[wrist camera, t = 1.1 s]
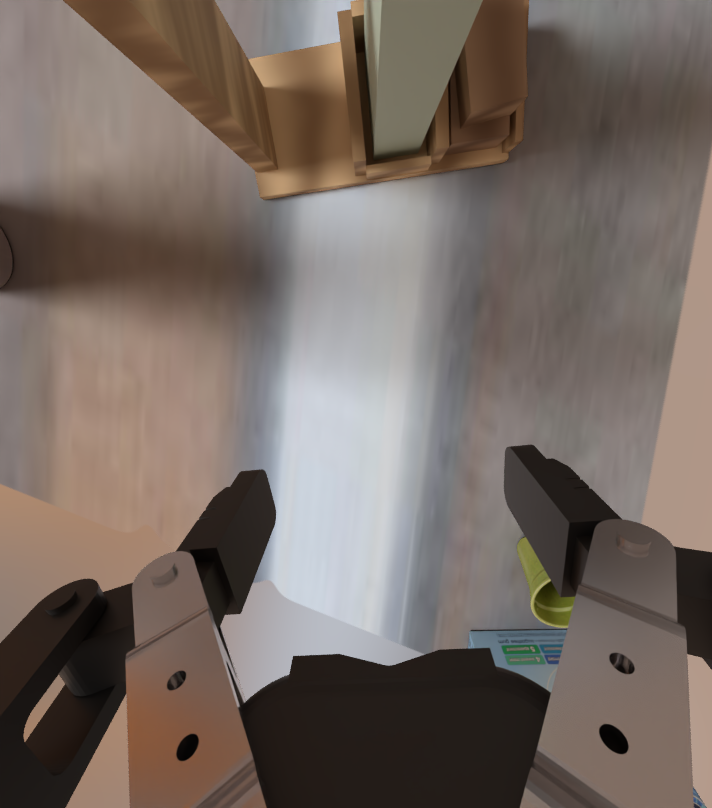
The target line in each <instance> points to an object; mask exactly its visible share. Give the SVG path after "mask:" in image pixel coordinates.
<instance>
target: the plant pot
mask: <svg viewBox="0 0 712 808" xmlns="http://www.w3.org/2000/svg"><path fill="white" fill-rule="evenodd" d="M517 552H518V555H519V558H520V561H521V564H522V567H523V570H524V573H525V576H526V579H527V582H528V585H529V588H530V596H531V602H530V603H531V609H532V612H533V614H534V615H535V616H536V617H537V619H539V620H540V621H541V622H543V623H545V624H547V625H550V626H554V627H560V628H561V627H562V628H568V624H569V620H570V616H571V612H572V608H573V604H574V600H575V597H560V595H559V594H558V592H557V590H556V589H555V587H554V585H553V583H552V582H551V580H550V578H549V576H548V575H547V573H546V571H545V570H544V568H543V566H542V564H541V563H540V561H539V559H538V557H537V556H536V554H535V552H534V550H533V549H532V547H531V545H530V544H529V542H528V540H527V538H526V537H524V538H522V539H520V541H519V543H518V545H517Z"/></svg>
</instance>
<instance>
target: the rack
mask: <svg viewBox="0 0 712 808" xmlns="http://www.w3.org/2000/svg"><path fill="white" fill-rule="evenodd" d="M63 1H64V2H65V3H67V4H68V5H69V6H70V7H71V8H72V9H73V10H74V11H76V12H77V13H78V14H79V15H80V16H81V17H82V18H84V19H85V20H86V21H87V22H88V23H89V24H90V25H91V26H93V27H94V28H95V29H96V30H97V31H98V32H99V33H100V34H102V35H103V36H104V37H105V38H106V39H107V40H108V41H109V42H111V43H112V44H113V45H114V46H115V47H116V48H117V49H119V50H120V51H121V52H122V53H123V54H124V55H125V56H126V57H128V58H129V59H130V60H131V61H132V62H133V63H134V64H135V65H137V66H138V67H139V68H140V69H141V70H142V71H143V72H144V73H146V74H147V75H148V76H149V77H150V78H151V79H152V80H154V81H155V82H156V83H157V84H158V85H159V86H160V87H161V88H163V89H164V90H165V91H166V92H167V93H168V94H169V95H170V96H172V97H173V98H174V99H175V100H176V101H177V102H178V103H179V104H181V105H182V106H183V107H184V108H185V109H186V110H187V111H189V112H190V113H191V114H192V115H193V116H194V117H195V118H196V119H198V120H199V121H200V122H201V123H202V124H203V125H204V126H205V127H207V128H208V129H209V130H210V131H211V132H212V133H213V134H214V135H216V136H217V137H218V138H219V139H220V140H221V141H222V142H224V143H225V144H226V145H227V146H228V147H229V148H230V149H231V150H233V151H234V152H235V153H236V154H237V155H238V156H239V157H240V158H242V159H243V160H244V161H245V162H246V163H247V164H248V165H249V166H251V167H252V168H253V169H254V170H255V174H256V179H257V184H258V189H259V194H260V198H262V199H263V200H266V199H273V198H279V197H286V196H292V195H299V194H305V193H312V192H318V191H325V190H331V189H337V188H344V187H350V186H357V185H363V184H370V183H376V182H383V181H389V180H396V179H402V178H409V177H415V176H421V175H428V174H434V173H441V172H447V171H454V170H460V169H467V168H473V167H480V166H486V165H493V164H499V163H504V162H505V161H506V160H508V155H509V151H511V150H512V149H513V148H514V147H515V146H517V145H518V144H519V143H520V142H521V141H523V125H524V102H525V100H524V101H523V102H522V103H521V104H520V105H519V106H518V107H517V109H516V110H515V111H514V112H513V113H512V114H510V125H509V135H508V136H507V137H506V138H505V139H504V140H503V141H502V142H501V143H500V144H499V145H498V146H497V147H495V148H489V149H482V150H476V151H470V152H463V153H457V154H451V155H445V156H444V154H445V153H446V151H447V149H448V148H449V110H448V84H447V86H446V88H445V91H444V93H443V95H442V98H441V100H440V102H439V105H438V107H437V109H436V112H435V114H434V117H433V119H432V121H431V124H430V126H429V128H428V131H427V133H426V135H425V138H424V140H423V142H422V145H421V147H420V150H419V152H418V153H417V154H410V155H404V156H398V157H392V158H385V159H379V160H374V158H373V147H372V136H371V125H370V114H369V103H368V91H367V80H366V69H365V42H364V0H356V1H351V9H350V10H345V11H340V12H337V13H338V23H339V32H340V41H341V42H337V43H332V44H326V45H321V46H316V47H310V48H305V49H300V50H294V51H289V52H284V53H279V54H273V55H268V56H263V57H257V58H252V59H248V58H247V57H246V55H245V53H244V51H243V50H242V48H241V46H240V44H239V43H238V41H237V39H236V37H235V36H234V34H233V32H232V30H231V29H230V27H229V25H228V23H227V22H226V20H225V18H224V16H223V14H222V13H221V11H220V9H219V7H218V6H217V4H216V2H215V0H63ZM528 10H529V0H524V14H525V38H526V56H527V33H528Z"/></svg>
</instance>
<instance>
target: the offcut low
mask: <svg viewBox="0 0 712 808" xmlns="http://www.w3.org/2000/svg"><path fill="white" fill-rule="evenodd" d="M448 110H449V148H448V149H447V151H446V153H445V154H444V156H445V155H451V154H457V153H463V152H470V151H476V150H482V149H489V148H495V147H497V146H498V145H499V144H500V143H501V142H502V141H503V140H504V139H505V138H506V137H507V136H508V135H509V125H510V115H507V116H504V117H500V118H497V119H493V120H490V121H486V122H483V123H479V124H476V125H473V126H469V127H466V128H462V129H460V119H459V109H458V99H457V89H456V79H455V69H453V72H452V74H451V76H450V79H449V81H448Z"/></svg>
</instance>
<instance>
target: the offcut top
mask: <svg viewBox="0 0 712 808" xmlns="http://www.w3.org/2000/svg"><path fill="white" fill-rule="evenodd" d="M454 69H455V79H456V89H457V99H458V109H459V119H460V129H462V128H466V127H469V126H473V125H476V124H479V123H483V122H486V121H490V120H493V119H497V118H500V117H504V116H507V115H510V114H512V113H513V112H514V111H515V110H516V109H517V107H518V106H519V105H520V104H521V103H522V102H523V101H524V100H525V99H526V98H527V97H528V87H527V63H526V38H525V14H524V0H483V1H482V3H481V6H480V8H479V11H478V13H477V15H476V18H475V20H474V22H473V25H472V27H471V29H470V32H469V34H468V36H467V39H466V41H465V44H464V46H463V48H462V51H461V53H460V55H459V58H458V60H457V62H456V65H455V67H454Z"/></svg>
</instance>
